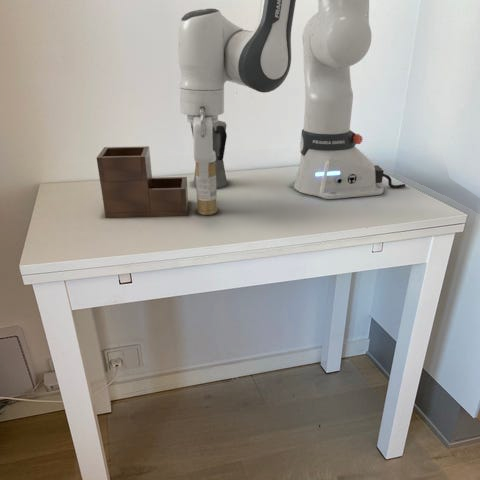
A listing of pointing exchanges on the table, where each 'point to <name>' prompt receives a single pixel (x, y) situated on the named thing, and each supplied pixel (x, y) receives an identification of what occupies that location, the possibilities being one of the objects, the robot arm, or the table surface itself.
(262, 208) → the table surface
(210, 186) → the sprinkles bottle
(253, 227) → the table surface
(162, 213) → the caddy
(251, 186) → the table surface
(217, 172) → the coffeepot
